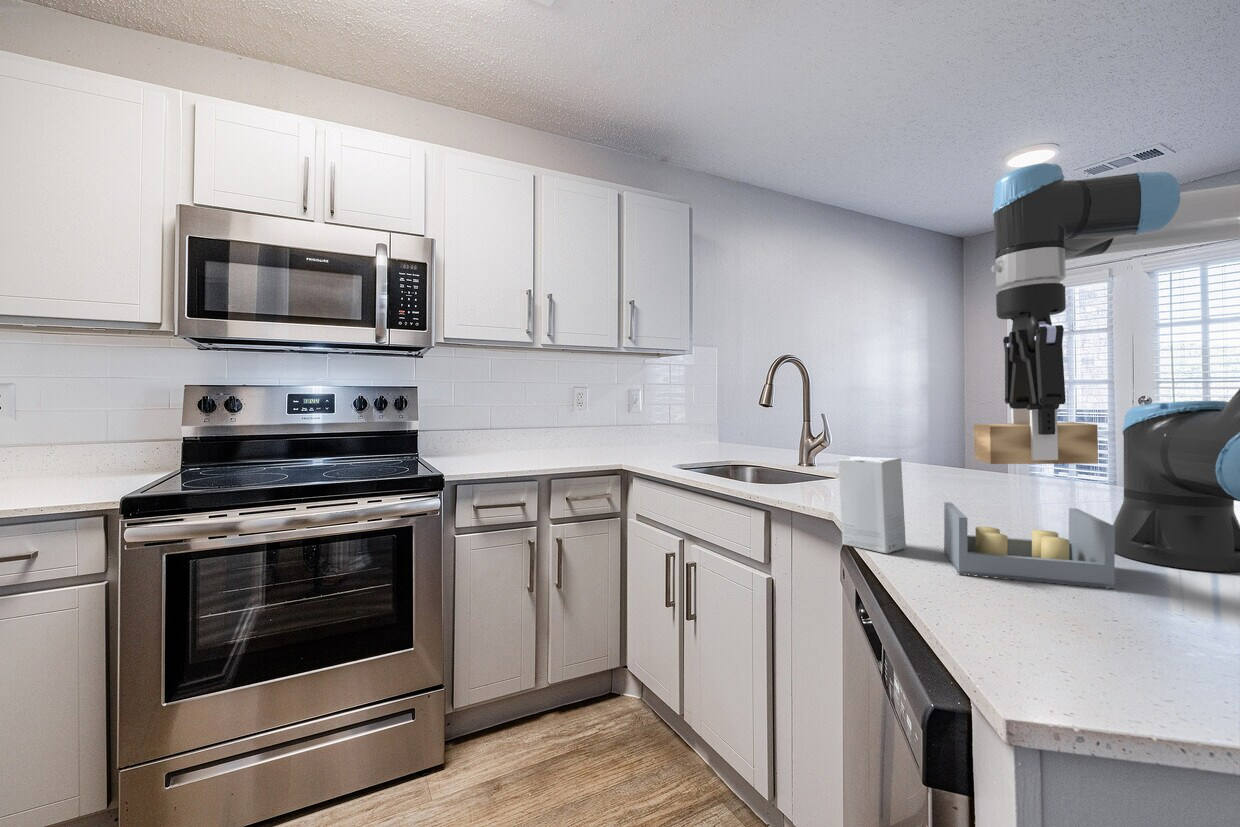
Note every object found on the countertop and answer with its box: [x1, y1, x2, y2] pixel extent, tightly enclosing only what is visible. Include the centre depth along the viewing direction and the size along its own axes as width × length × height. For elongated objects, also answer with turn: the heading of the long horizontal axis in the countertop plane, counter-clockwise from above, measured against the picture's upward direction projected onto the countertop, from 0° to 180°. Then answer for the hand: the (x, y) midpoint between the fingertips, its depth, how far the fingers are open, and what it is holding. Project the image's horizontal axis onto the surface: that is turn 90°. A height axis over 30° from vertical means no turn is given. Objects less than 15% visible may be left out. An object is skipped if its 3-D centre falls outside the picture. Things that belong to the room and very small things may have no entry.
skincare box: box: [838, 455, 907, 554], centre depth 91 cm, size 8×6×15 cm
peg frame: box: [943, 501, 1116, 589], centre depth 78 cm, size 17×12×8 cm
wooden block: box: [973, 421, 1099, 465], centre depth 75 cm, size 12×6×5 cm, turn 74°
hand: (1034, 456), depth 75 cm, fingers closed on wooden block, 6 cm apart
